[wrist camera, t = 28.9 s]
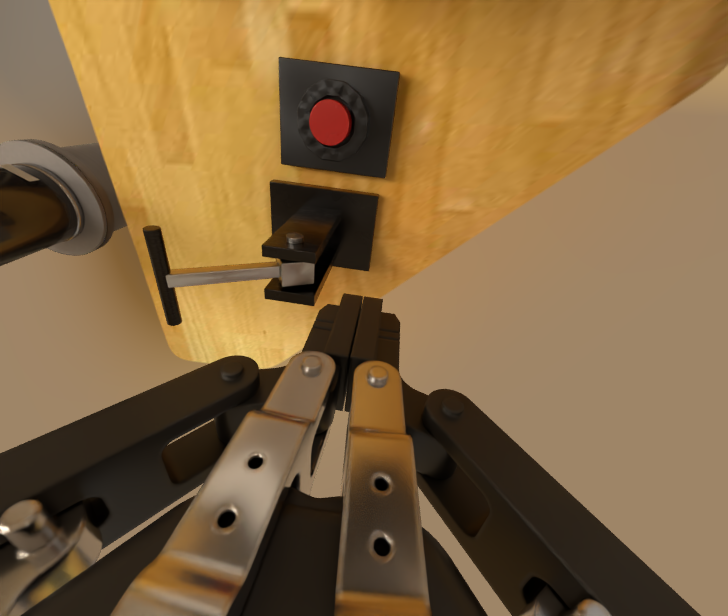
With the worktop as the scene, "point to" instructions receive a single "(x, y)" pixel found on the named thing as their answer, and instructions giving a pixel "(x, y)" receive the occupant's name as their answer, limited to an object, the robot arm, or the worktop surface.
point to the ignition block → (361, 97)
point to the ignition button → (330, 122)
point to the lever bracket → (318, 234)
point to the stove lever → (214, 273)
